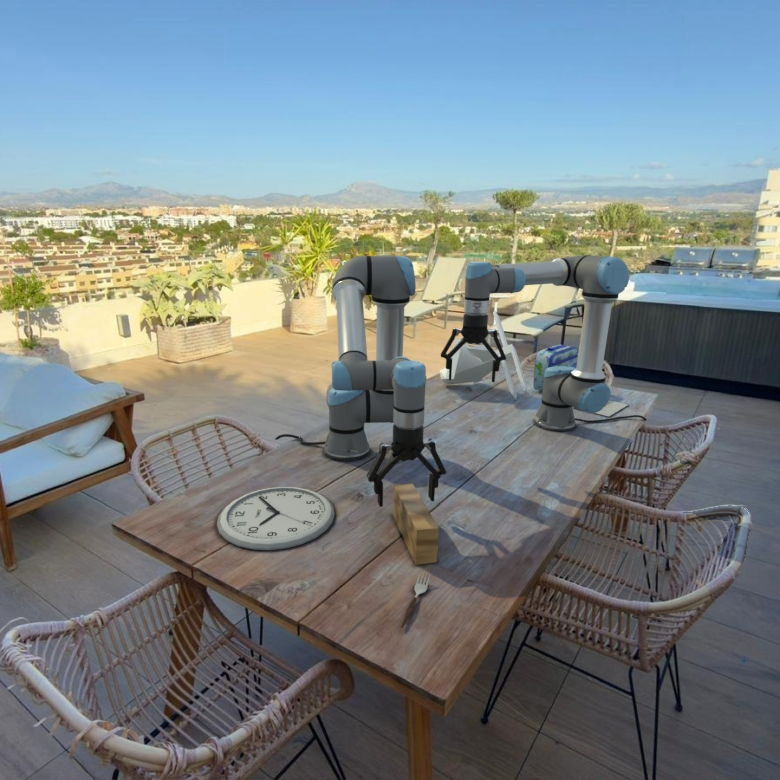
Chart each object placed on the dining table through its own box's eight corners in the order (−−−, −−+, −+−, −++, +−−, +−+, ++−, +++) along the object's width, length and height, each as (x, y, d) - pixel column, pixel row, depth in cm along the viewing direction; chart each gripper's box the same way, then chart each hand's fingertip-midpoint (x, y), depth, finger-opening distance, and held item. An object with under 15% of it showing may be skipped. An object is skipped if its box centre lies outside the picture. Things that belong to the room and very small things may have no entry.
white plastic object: (461, 429, 252) (437, 405, 227) (444, 352, 274) (420, 323, 250) (535, 404, 240) (518, 377, 215) (510, 326, 262) (492, 293, 237)
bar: (437, 562, 119) (438, 527, 117) (415, 565, 118) (416, 530, 116) (411, 513, 139) (412, 483, 137) (393, 515, 138) (393, 485, 136)
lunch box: (550, 397, 237) (555, 352, 231) (529, 391, 245) (533, 348, 238) (577, 386, 255) (582, 344, 249) (556, 381, 262) (561, 340, 256)
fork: (394, 628, 99) (394, 619, 99) (419, 578, 113) (419, 570, 113) (407, 632, 98) (408, 623, 98) (430, 581, 113) (431, 573, 112)
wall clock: (333, 542, 123) (202, 546, 121) (333, 547, 124) (203, 552, 121) (335, 482, 152) (229, 485, 149) (335, 487, 152) (230, 490, 150)
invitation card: (608, 416, 214) (573, 407, 224) (608, 416, 214) (573, 408, 224) (628, 404, 229) (594, 396, 238) (628, 405, 229) (594, 397, 238)
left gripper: (451, 415, 134) (447, 489, 141) (355, 422, 128) (355, 498, 135) (461, 426, 127) (456, 503, 134) (360, 434, 121) (360, 514, 128)
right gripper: (434, 314, 158) (431, 381, 164) (518, 317, 155) (512, 385, 162) (435, 310, 165) (432, 374, 172) (515, 313, 163) (510, 378, 169)
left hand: (405, 501), depth 134 cm, fingers open, 13 cm apart
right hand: (471, 380), depth 167 cm, fingers open, 13 cm apart
